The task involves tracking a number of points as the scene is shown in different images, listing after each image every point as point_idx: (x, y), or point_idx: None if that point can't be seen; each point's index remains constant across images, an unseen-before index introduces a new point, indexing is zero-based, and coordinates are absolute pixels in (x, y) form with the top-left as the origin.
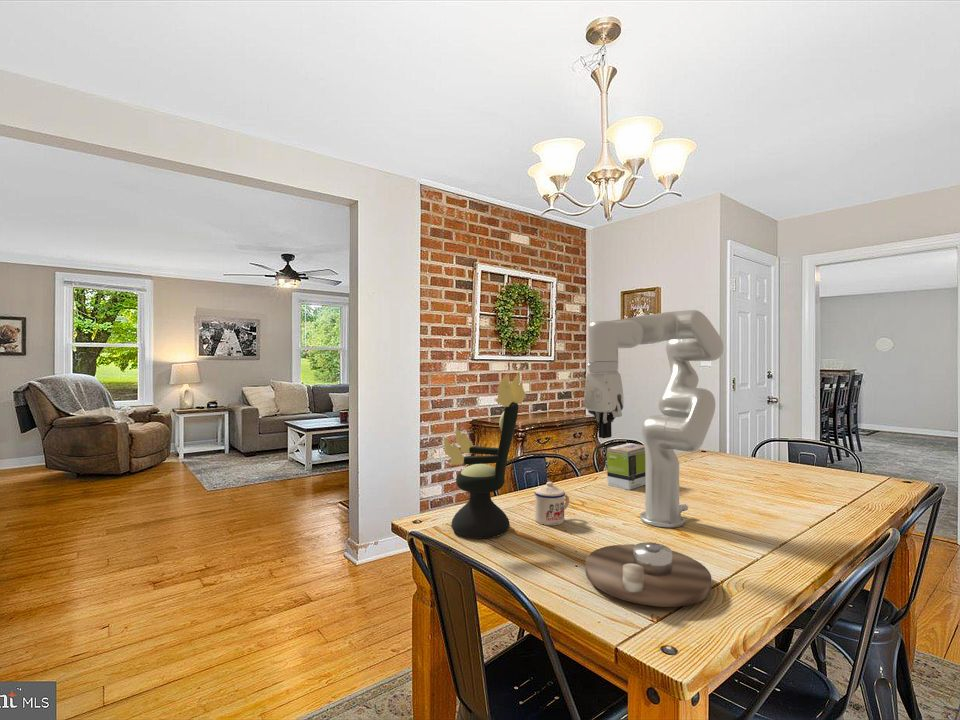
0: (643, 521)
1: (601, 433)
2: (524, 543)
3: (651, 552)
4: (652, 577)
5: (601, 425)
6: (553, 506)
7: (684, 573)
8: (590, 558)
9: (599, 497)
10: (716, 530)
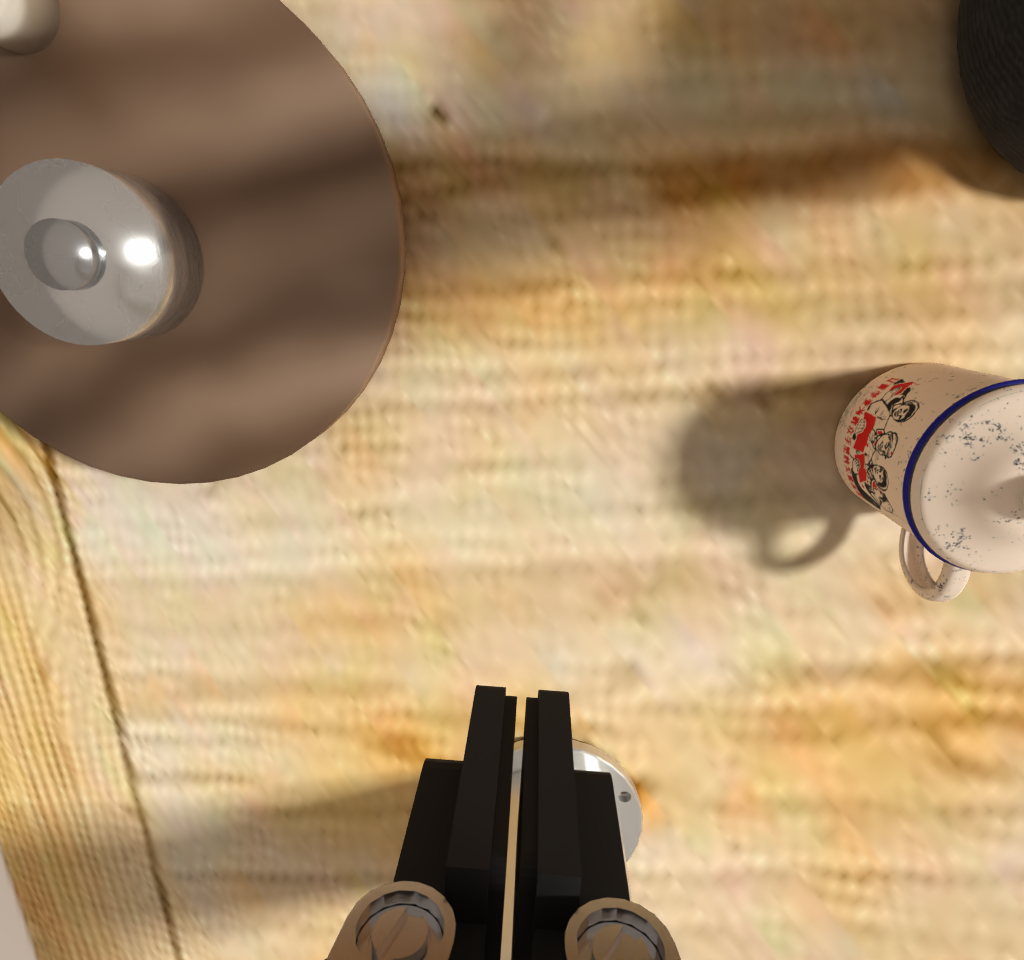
0: (587, 744)
1: (508, 729)
2: (790, 91)
3: (48, 217)
4: None
5: (491, 831)
6: (899, 421)
7: None
8: (336, 97)
9: (939, 867)
10: (361, 862)
